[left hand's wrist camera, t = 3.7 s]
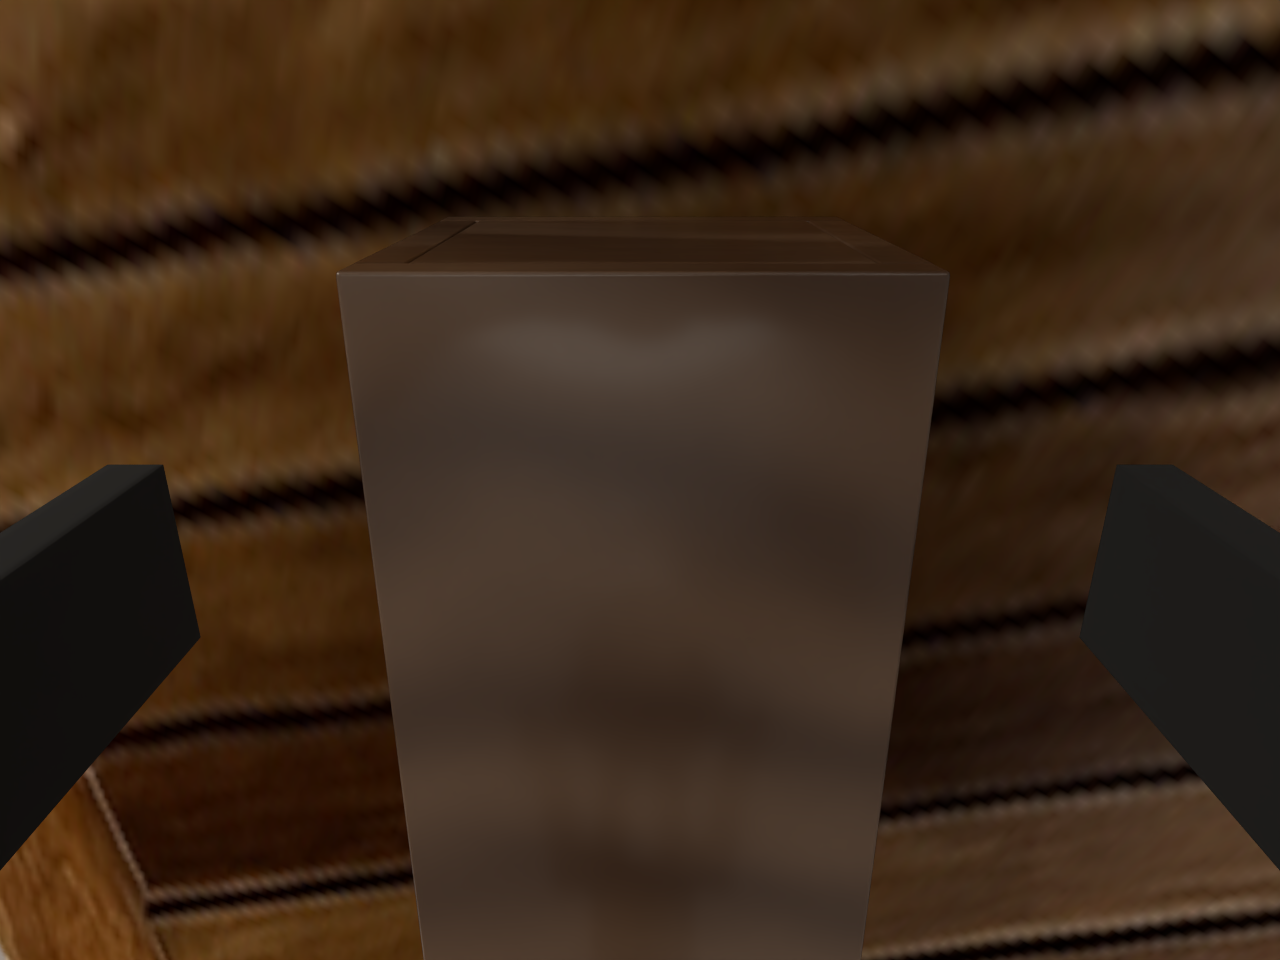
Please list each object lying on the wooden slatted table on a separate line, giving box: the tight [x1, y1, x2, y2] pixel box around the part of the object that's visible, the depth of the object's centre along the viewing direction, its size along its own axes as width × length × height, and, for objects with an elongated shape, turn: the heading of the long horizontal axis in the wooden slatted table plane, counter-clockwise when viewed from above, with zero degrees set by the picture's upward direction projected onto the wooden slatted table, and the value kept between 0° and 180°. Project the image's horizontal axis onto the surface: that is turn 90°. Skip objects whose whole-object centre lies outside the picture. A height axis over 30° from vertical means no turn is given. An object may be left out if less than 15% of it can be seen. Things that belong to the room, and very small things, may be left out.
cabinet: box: [336, 217, 950, 960], centre depth 25 cm, size 21×11×10 cm, turn 0°
